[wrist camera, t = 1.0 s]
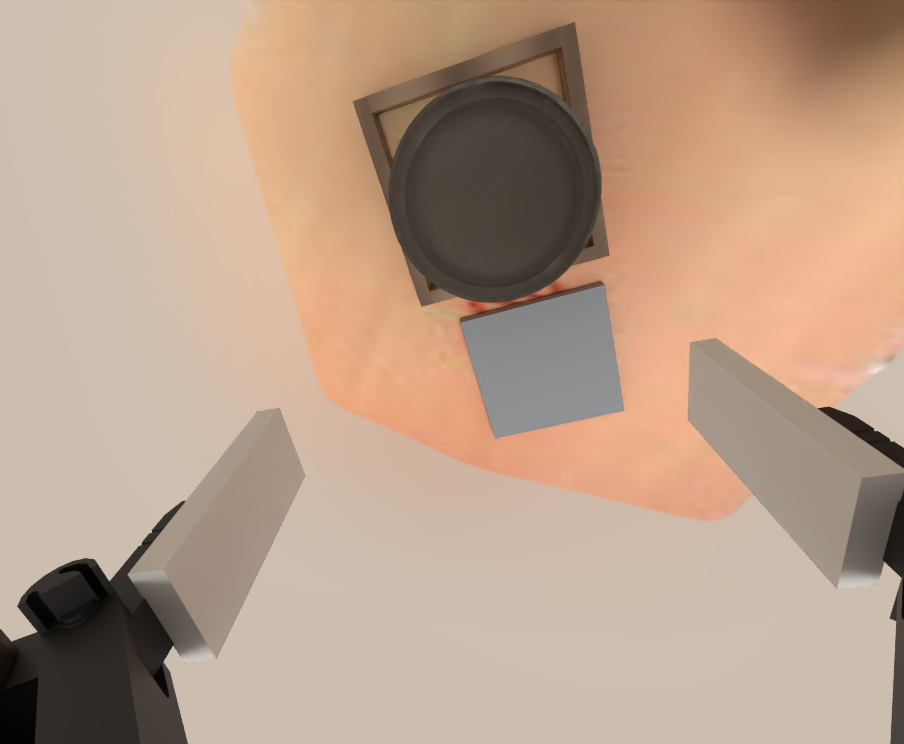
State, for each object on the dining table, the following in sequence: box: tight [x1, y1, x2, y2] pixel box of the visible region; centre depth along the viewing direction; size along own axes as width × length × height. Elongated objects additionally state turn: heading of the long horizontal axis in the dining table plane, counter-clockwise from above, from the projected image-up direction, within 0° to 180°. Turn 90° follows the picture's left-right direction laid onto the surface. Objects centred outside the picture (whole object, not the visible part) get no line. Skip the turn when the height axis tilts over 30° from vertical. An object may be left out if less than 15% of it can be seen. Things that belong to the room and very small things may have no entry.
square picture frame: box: [353, 22, 610, 307], centre depth 34 cm, size 15×15×2 cm
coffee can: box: [388, 76, 601, 302], centre depth 29 cm, size 10×10×14 cm
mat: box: [460, 282, 624, 438], centre depth 41 cm, size 12×12×1 cm
